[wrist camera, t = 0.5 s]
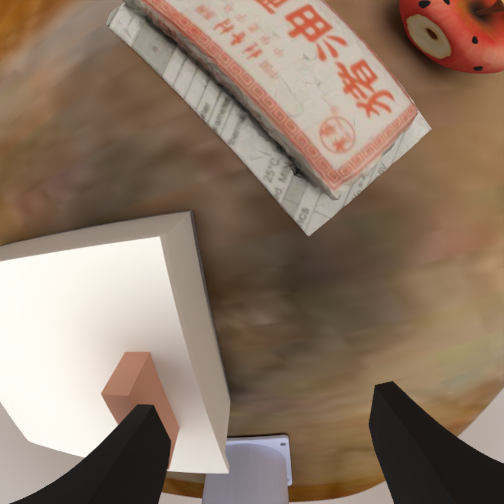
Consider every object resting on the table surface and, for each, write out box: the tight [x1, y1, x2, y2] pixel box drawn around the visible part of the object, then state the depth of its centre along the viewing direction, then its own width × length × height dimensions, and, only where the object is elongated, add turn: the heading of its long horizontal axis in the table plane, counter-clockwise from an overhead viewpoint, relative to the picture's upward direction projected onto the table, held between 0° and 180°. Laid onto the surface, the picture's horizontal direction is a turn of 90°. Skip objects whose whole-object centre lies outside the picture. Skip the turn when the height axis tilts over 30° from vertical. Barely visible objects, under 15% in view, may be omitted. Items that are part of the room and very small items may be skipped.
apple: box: [399, 0, 504, 73], centre depth 8 cm, size 8×7×10 cm
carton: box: [0, 210, 231, 452], centre depth 17 cm, size 14×16×6 cm
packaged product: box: [106, 0, 431, 236], centre depth 13 cm, size 18×5×10 cm
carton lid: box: [0, 232, 230, 473], centre depth 12 cm, size 15×17×3 cm
